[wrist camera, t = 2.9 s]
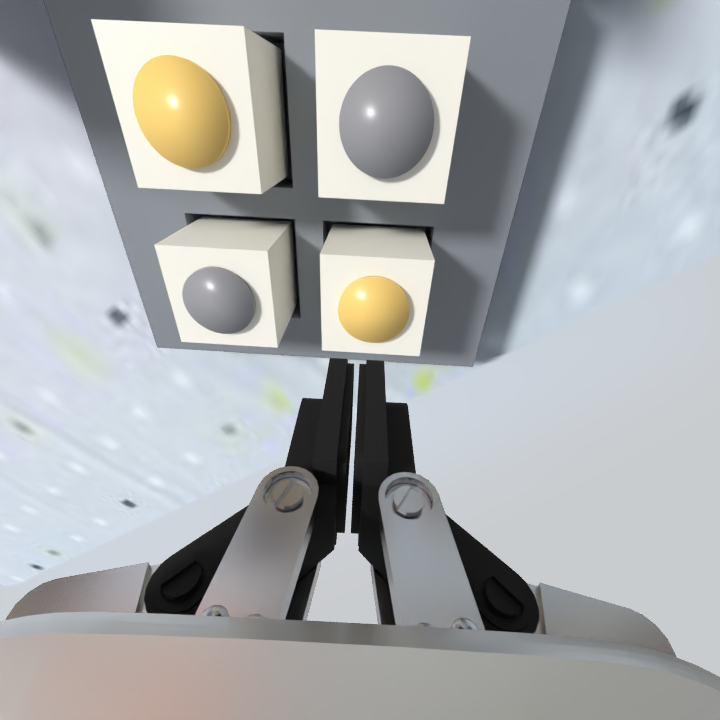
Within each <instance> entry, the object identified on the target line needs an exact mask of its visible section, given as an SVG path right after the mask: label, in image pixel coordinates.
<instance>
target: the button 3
mask: <svg viewBox="0 0 720 720" xmlns="http://www.w3.org/2000/svg"><path fill="white" fill-rule="evenodd" d="M470 39H471V36H453V35H430V34H408V33H386V32H364V31H342V30H320V29H315V67H316V111H317V155H318V197H323V198H341V199H360V200H379V201H397V202H416V203H435V204H444V201H445V194H446V188H447V182H448V176H449V170H450V163H451V157H452V151H453V145H454V139H455V132H456V126H457V120H458V114H459V108H460V101H461V95H462V89H463V83H464V77H465V70H466V64H467V58H468V52H469V45H470Z"/></svg>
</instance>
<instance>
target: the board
mask: <svg viewBox="0 0 720 720" xmlns="http://www.w3.org/2000/svg"><path fill="white" fill-rule="evenodd" d="M43 1H44V4H45V7H46V10H47V13H48V16H49V19H50V22H51V25H52V28H53V31H54V34H55V37H56V40H57V44H58V47H59V50H60V53H61V56H62V59H63V62H64V65H65V68H66V71H67V74H68V77H69V80H70V83H71V86H72V89H73V92H74V95H75V98H76V101H77V104H78V107H79V110H80V113H81V117H82V120H83V123H84V126H85V129H86V132H87V135H88V138H89V141H90V144H91V147H92V150H93V153H94V156H95V159H96V162H97V165H98V168H99V171H100V174H101V177H102V180H103V183H104V187H105V190H106V193H107V196H108V199H109V202H110V205H111V208H112V211H113V214H114V217H115V220H116V223H117V226H118V229H119V232H120V235H121V238H122V241H123V244H124V247H125V250H126V253H127V257H128V260H129V263H130V266H131V269H132V272H133V275H134V278H135V281H136V284H137V287H138V290H139V293H140V296H141V299H142V302H143V305H144V308H145V311H146V314H147V317H148V320H149V323H150V327H151V330H152V333H153V336H154V339H155V342H156V345H157V347H159V348H175V349H192V350H208V351H224V352H240V353H257V354H273V355H289V356H306V357H322V358H342V359H355V360H381V361H387V362H403V363H420V364H436V365H452V366H469V367H473V365H474V361H475V357H476V354H477V350H478V346H479V342H480V339H481V335H482V331H483V327H484V324H485V320H486V316H487V312H488V309H489V305H490V301H491V297H492V294H493V290H494V286H495V283H496V279H497V275H498V271H499V268H500V264H501V260H502V256H503V253H504V249H505V245H506V241H507V238H508V234H509V230H510V226H511V223H512V219H513V215H514V212H515V208H516V204H517V200H518V197H519V193H520V189H521V185H522V182H523V178H524V174H525V170H526V167H527V163H528V159H529V155H530V152H531V148H532V144H533V141H534V137H535V133H536V129H537V126H538V122H539V118H540V114H541V111H542V107H543V103H544V99H545V96H546V92H547V88H548V84H549V81H550V77H551V73H552V70H553V66H554V62H555V58H556V55H557V51H558V47H559V43H560V40H561V36H562V32H563V28H564V25H565V21H566V17H567V13H568V10H569V6H570V2H571V0H43ZM91 19H99V20H121V21H143V22H165V23H187V24H209V25H231V26H244V27H246V28H248V29H249V30H251V31H252V32H254V33H256V34H257V35H259V36H260V37H262V38H264V39H265V40H267V41H268V42H270V43H272V44H273V45H275V46H276V47H278V48H279V49H281V59H282V74H283V90H284V106H285V121H286V137H287V153H288V169H289V176H288V177H286V178H285V179H283V180H282V181H280V182H279V183H277V184H276V185H274V186H273V187H271V188H270V189H268V190H267V191H265V192H264V193H263V194H248V193H229V192H210V191H192V190H173V189H154V188H138V185H137V182H136V178H135V175H134V171H133V167H132V164H131V160H130V157H129V153H128V150H127V146H126V142H125V139H124V135H123V132H122V128H121V125H120V121H119V118H118V114H117V110H116V107H115V103H114V100H113V96H112V93H111V89H110V86H109V82H108V78H107V75H106V71H105V68H104V64H103V61H102V57H101V53H100V50H99V46H98V43H97V39H96V36H95V32H94V29H93V25H92V21H91ZM315 29H320V30H342V31H364V32H386V33H408V34H430V35H453V36H471V39H470V45H469V52H468V58H467V64H466V70H465V77H464V83H463V89H462V95H461V101H460V108H459V114H458V120H457V126H456V132H455V139H454V145H453V151H452V157H451V163H450V170H449V176H448V182H447V188H446V194H445V201H444V204H435V203H416V202H397V201H379V200H360V199H341V198H323V197H318V155H317V111H316V67H315ZM201 217H219V218H237V219H256V220H274V221H292V231H293V247H294V263H295V278H296V294H297V305H296V307H295V309H294V312H293V314H292V316H291V319H290V321H289V323H288V325H287V328H286V330H285V332H284V334H283V337H282V339H281V341H280V343H279V346H278V348H274V347H258V346H242V345H225V344H209V343H192V342H181V338H180V335H179V331H178V328H177V324H176V320H175V317H174V313H173V310H172V306H171V303H170V299H169V296H168V292H167V288H166V285H165V281H164V278H163V274H162V271H161V267H160V264H159V260H158V256H157V253H156V249H155V246H154V245H155V244H156V243H158V242H160V241H162V240H163V239H165V238H167V237H168V236H170V235H172V234H174V233H175V232H177V231H179V230H180V229H182V228H184V227H186V226H187V225H189V224H191V223H193V222H194V221H196V220H198V219H199V218H201ZM333 224H347V225H365V226H383V227H402V228H420V229H424V232H425V235H426V237H427V240H428V243H429V246H430V248H431V251H432V254H433V257H434V260H435V263H434V269H433V275H432V281H431V288H430V294H429V300H428V306H427V312H426V319H425V325H424V331H423V337H422V343H421V350H420V356H406V355H389V354H373V353H356V352H340V351H324V350H322V330H321V286H320V252H321V250H322V248H323V246H324V243H325V241H326V239H327V236H328V234H329V232H330V230H331V227H332V225H333Z"/></svg>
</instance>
